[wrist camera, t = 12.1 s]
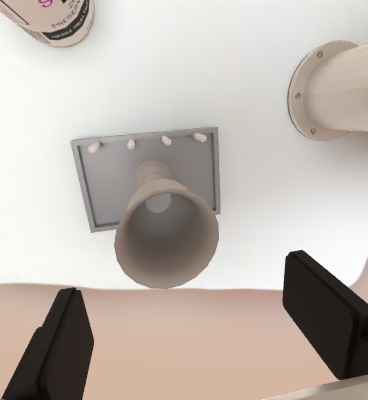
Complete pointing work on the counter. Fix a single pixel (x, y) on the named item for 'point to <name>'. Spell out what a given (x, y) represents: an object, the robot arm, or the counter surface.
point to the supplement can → (51, 19)
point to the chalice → (164, 231)
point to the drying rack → (132, 158)
